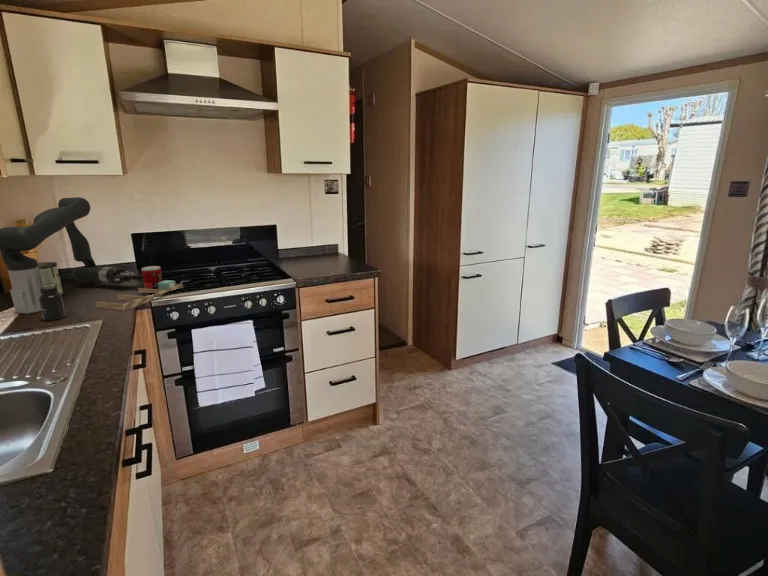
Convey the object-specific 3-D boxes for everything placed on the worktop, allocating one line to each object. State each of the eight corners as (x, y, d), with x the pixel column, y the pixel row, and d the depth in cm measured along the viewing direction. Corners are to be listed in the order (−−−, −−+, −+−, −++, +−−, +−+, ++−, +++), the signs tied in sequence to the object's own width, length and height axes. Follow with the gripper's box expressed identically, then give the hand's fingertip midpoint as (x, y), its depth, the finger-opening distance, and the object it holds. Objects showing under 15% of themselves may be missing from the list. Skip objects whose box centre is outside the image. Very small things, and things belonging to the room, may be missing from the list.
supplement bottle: (39, 322, 154) (32, 290, 151) (48, 316, 161) (41, 286, 157) (61, 320, 156) (54, 289, 153) (69, 314, 162) (62, 284, 159)
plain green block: (168, 294, 189) (167, 283, 188) (159, 293, 190) (157, 282, 189) (176, 291, 194) (175, 280, 192) (167, 290, 195) (166, 280, 194)
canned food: (156, 293, 190) (152, 270, 187) (141, 292, 191) (137, 269, 188) (167, 289, 197) (164, 266, 194) (153, 288, 198) (149, 265, 196)
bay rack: (124, 310, 166) (123, 304, 166) (96, 307, 170) (95, 301, 169) (183, 289, 196) (182, 284, 196) (157, 287, 200) (157, 282, 199)
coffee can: (33, 294, 189) (25, 264, 185) (61, 290, 196) (54, 261, 192) (36, 299, 182) (28, 268, 178) (65, 294, 189) (58, 264, 185)
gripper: (98, 270, 191) (128, 273, 187) (122, 264, 204) (151, 266, 199) (101, 286, 193) (131, 289, 189) (125, 279, 206) (154, 282, 201)
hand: (141, 277), depth 194 cm, fingers closed
